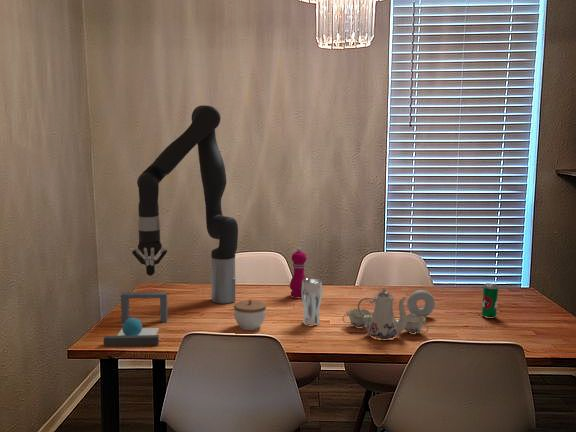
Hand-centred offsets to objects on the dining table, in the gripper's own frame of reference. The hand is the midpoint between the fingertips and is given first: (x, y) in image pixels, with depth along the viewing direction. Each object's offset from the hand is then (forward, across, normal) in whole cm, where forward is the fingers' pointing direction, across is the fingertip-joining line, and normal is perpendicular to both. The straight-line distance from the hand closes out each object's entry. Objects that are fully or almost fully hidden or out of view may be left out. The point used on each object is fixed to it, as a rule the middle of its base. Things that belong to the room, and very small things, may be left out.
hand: (150, 275), depth 199 cm
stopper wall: (+12, 0, -36) cm, 38 cm away
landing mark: (+13, 0, -28) cm, 30 cm away
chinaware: (+14, +80, -29) cm, 86 cm away
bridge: (+13, 0, -14) cm, 19 cm away
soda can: (+14, +122, -13) cm, 124 cm away
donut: (+14, +97, -13) cm, 99 cm away
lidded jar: (+13, +36, -21) cm, 44 cm away
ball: (+10, -1, -29) cm, 31 cm away
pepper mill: (+14, +56, +16) cm, 60 cm away
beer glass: (+14, +57, -18) cm, 61 cm away
